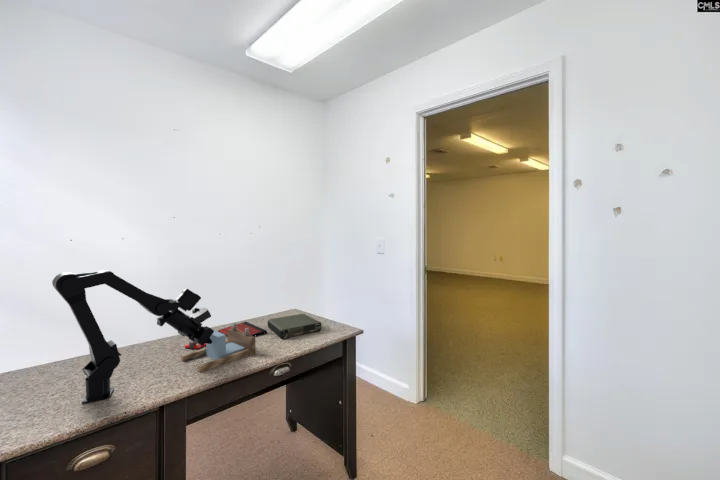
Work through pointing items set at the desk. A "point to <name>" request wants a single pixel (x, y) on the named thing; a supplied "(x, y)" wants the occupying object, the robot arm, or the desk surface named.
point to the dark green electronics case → (293, 325)
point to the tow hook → (193, 345)
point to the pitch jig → (232, 336)
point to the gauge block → (221, 346)
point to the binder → (241, 327)
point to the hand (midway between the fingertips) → (211, 342)
